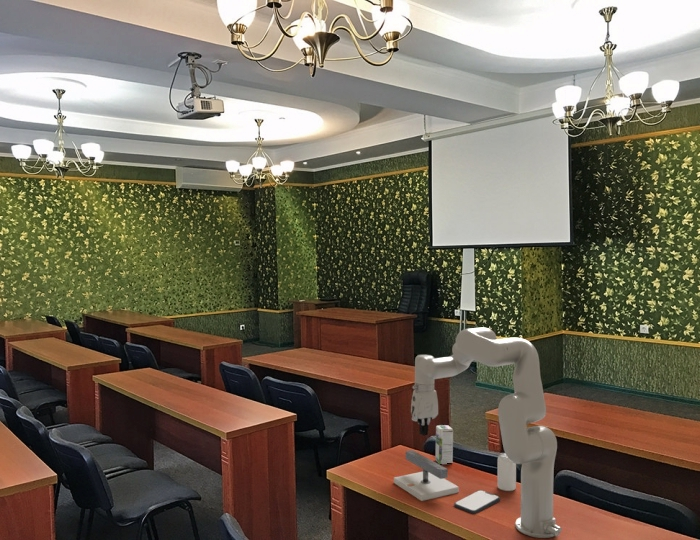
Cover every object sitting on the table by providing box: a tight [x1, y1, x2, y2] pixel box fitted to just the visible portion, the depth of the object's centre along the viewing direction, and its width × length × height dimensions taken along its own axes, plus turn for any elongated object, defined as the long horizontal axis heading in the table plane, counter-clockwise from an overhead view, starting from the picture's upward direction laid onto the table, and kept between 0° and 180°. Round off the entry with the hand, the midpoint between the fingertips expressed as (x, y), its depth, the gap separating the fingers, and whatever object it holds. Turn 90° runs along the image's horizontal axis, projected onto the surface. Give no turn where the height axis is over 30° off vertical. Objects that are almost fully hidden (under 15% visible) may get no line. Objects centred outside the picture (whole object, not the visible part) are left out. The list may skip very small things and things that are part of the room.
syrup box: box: [435, 424, 454, 465], centre depth 233 cm, size 6×6×14 cm
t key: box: [405, 449, 449, 483], centre depth 206 cm, size 22×3×8 cm, turn 28°
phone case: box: [453, 489, 501, 514], centre depth 193 cm, size 9×2×16 cm
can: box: [497, 452, 517, 492], centre depth 206 cm, size 6×6×12 cm
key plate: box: [393, 471, 460, 502], centre depth 206 cm, size 18×16×2 cm
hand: (423, 434), depth 218 cm, fingers closed
